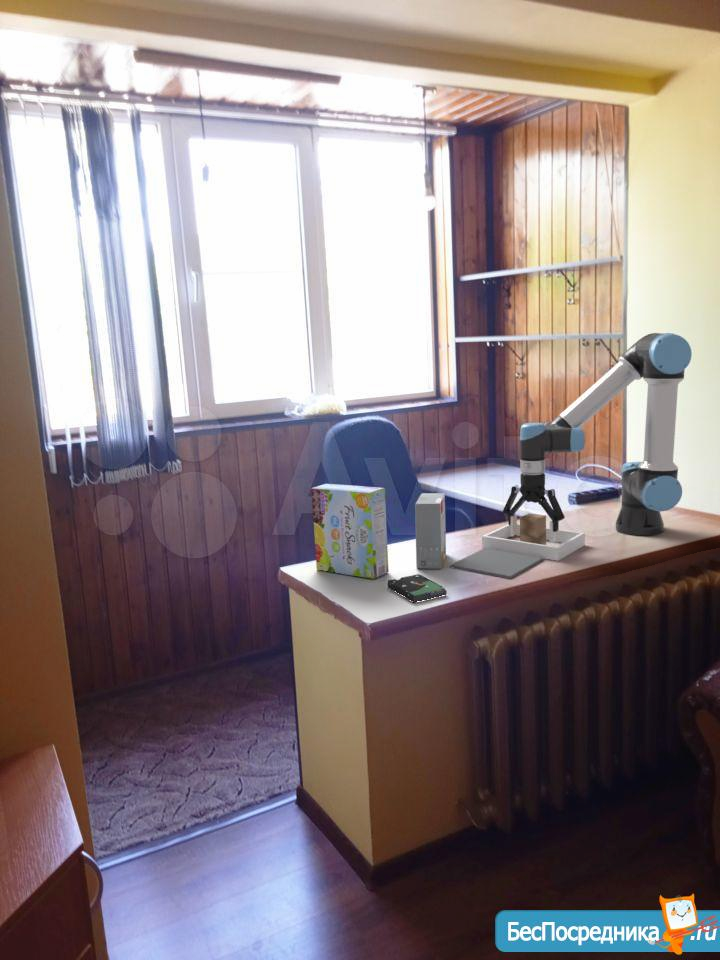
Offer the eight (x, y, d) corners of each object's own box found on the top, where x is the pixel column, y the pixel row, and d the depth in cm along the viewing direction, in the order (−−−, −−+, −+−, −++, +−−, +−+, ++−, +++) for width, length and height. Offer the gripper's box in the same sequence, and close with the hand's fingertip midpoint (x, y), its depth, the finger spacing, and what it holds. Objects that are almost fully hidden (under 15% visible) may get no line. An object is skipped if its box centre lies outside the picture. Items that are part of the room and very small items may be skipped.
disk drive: (387, 590, 211) (414, 605, 198) (386, 580, 211) (414, 595, 198) (418, 582, 216) (447, 597, 203) (418, 573, 215) (447, 587, 202)
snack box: (390, 572, 225) (387, 487, 220) (374, 580, 218) (370, 493, 213) (331, 562, 237) (326, 481, 232) (314, 570, 230) (309, 487, 225)
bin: (584, 545, 241) (584, 532, 240) (557, 560, 227) (557, 548, 226) (511, 534, 257) (511, 522, 257) (482, 548, 243) (481, 536, 242)
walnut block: (546, 545, 242) (546, 515, 240) (537, 550, 238) (537, 519, 236) (529, 543, 246) (528, 513, 244) (520, 547, 242) (519, 517, 240)
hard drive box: (442, 569, 224) (440, 504, 220) (416, 569, 226) (413, 504, 222) (446, 554, 239) (444, 492, 235) (422, 553, 241) (420, 492, 237)
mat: (543, 560, 228) (543, 557, 228) (510, 578, 213) (510, 576, 213) (485, 550, 241) (485, 547, 241) (450, 567, 226) (450, 564, 226)
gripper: (491, 471, 242) (492, 535, 247) (564, 478, 227) (564, 546, 231) (503, 467, 248) (504, 530, 252) (575, 473, 232) (575, 540, 236)
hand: (533, 538), depth 241 cm, fingers open, 13 cm apart
